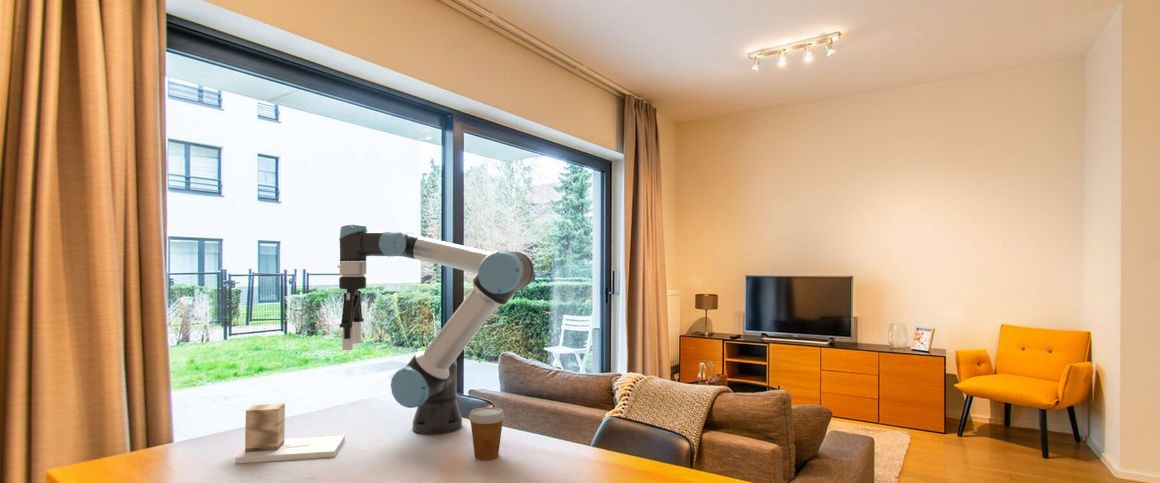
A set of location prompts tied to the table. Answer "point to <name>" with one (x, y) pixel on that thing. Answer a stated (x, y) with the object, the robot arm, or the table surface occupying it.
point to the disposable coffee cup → (486, 432)
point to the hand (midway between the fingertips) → (352, 346)
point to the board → (296, 450)
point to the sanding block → (264, 427)
